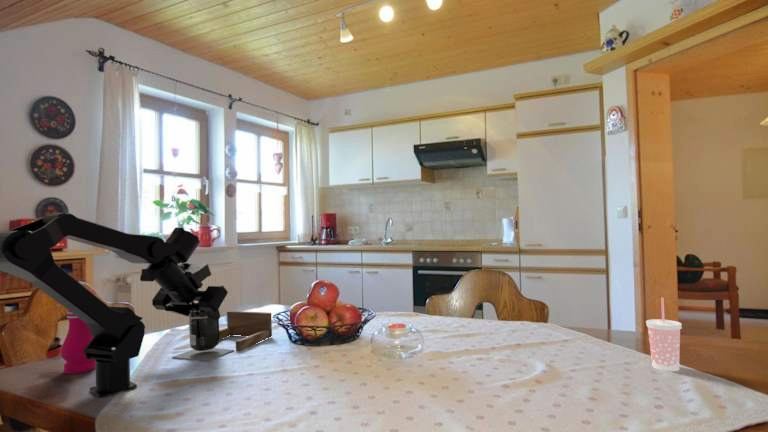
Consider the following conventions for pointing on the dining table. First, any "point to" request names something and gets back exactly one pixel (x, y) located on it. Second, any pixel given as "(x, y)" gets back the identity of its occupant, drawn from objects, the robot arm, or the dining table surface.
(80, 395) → the dining table surface
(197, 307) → the beverage can
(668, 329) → the beverage cup
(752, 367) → the dining table surface
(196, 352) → the mat
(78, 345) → the pepper mill
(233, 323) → the shelf lane
